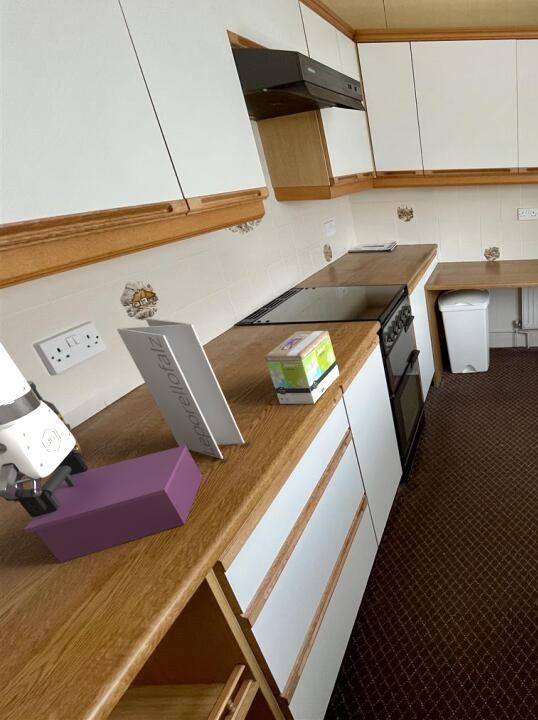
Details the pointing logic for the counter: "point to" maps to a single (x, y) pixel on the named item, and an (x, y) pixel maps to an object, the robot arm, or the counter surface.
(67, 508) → the file lid
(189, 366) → the brochure
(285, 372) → the tea box
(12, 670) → the counter surface
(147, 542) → the counter surface
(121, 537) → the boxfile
